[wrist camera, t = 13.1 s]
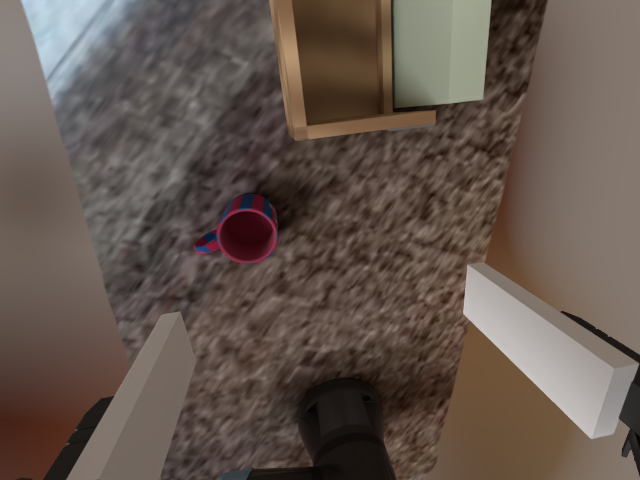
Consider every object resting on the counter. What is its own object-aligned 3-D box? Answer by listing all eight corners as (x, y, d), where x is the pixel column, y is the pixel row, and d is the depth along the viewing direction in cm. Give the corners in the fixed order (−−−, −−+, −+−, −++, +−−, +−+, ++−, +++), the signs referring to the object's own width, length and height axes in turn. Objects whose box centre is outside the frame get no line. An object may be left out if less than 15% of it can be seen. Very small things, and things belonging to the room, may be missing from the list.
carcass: (423, 125, 39) (490, 127, 27) (289, 142, 37) (297, 153, 25) (427, -83, 31) (524, -208, 19) (258, -73, 30) (250, -202, 18)
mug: (282, 236, 42) (284, 256, 35) (209, 252, 41) (197, 276, 35) (270, 188, 39) (270, 201, 33) (192, 205, 38) (176, 222, 32)
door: (420, 104, 38) (496, 97, 25) (387, 108, 38) (448, 103, 25) (422, -50, 32) (523, -162, 19) (384, -47, 32) (460, -160, 19)
